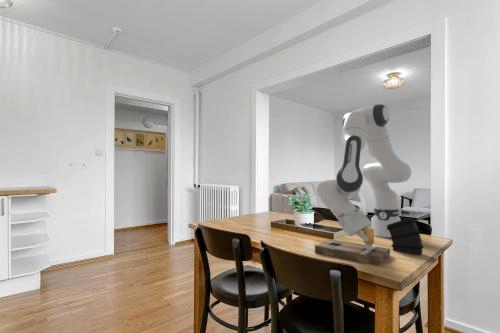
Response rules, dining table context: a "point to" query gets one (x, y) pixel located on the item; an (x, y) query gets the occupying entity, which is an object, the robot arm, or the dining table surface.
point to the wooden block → (370, 234)
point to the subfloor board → (353, 251)
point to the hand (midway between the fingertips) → (370, 239)
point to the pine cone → (318, 217)
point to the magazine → (406, 236)
